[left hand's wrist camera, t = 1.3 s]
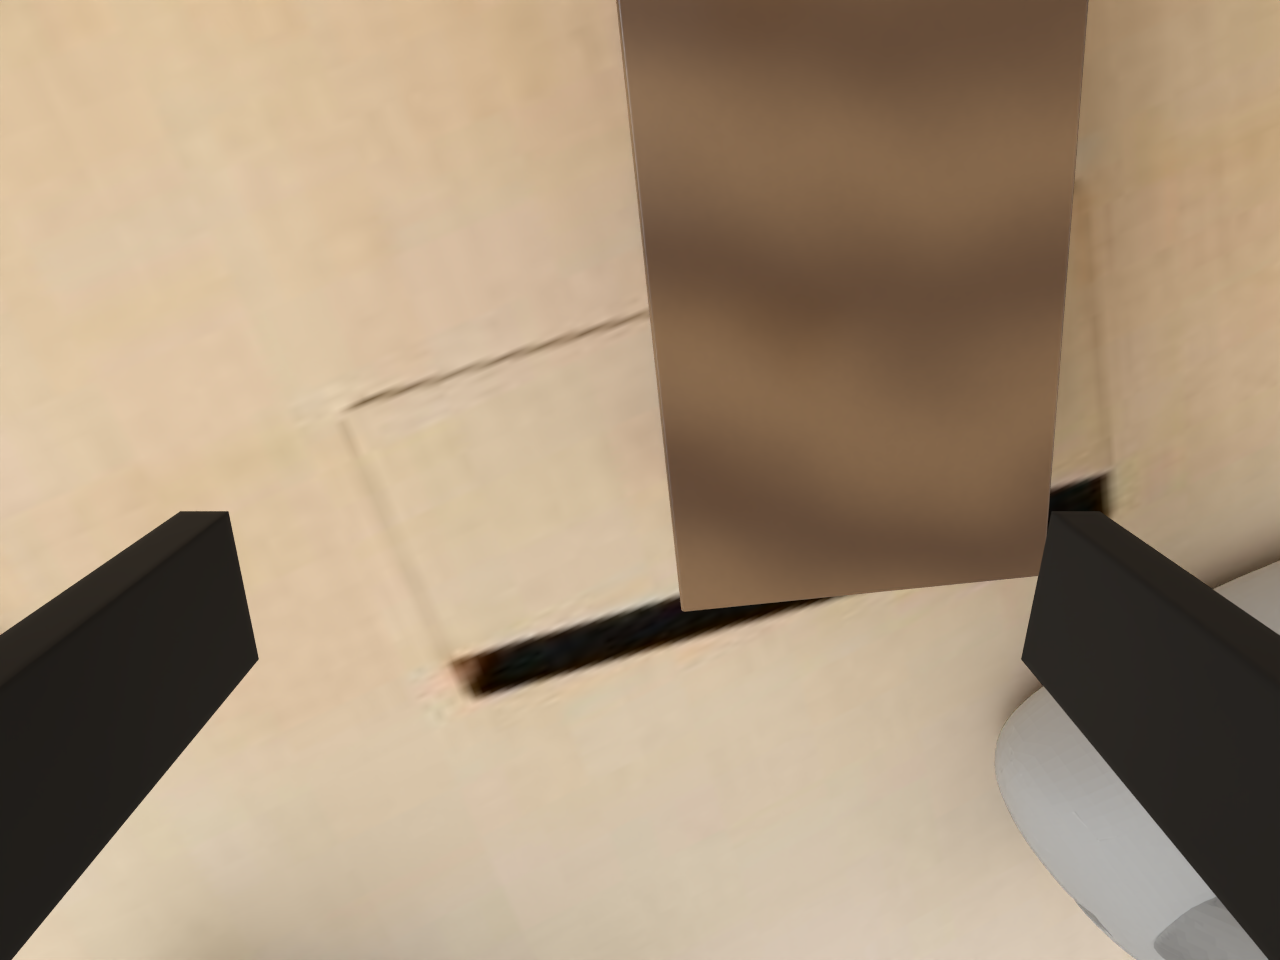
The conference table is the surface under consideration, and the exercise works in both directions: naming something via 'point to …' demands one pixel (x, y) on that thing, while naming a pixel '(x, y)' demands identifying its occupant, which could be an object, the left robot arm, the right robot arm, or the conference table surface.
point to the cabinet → (854, 283)
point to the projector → (1118, 825)
